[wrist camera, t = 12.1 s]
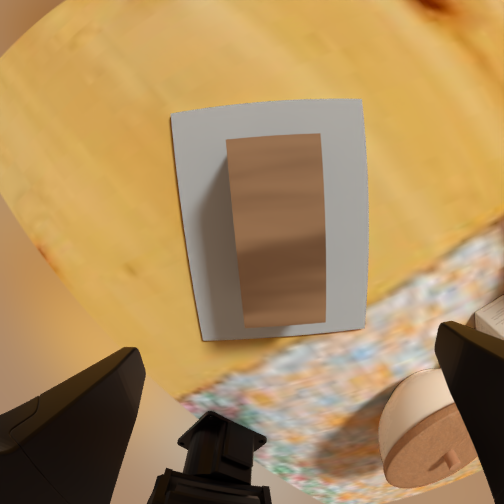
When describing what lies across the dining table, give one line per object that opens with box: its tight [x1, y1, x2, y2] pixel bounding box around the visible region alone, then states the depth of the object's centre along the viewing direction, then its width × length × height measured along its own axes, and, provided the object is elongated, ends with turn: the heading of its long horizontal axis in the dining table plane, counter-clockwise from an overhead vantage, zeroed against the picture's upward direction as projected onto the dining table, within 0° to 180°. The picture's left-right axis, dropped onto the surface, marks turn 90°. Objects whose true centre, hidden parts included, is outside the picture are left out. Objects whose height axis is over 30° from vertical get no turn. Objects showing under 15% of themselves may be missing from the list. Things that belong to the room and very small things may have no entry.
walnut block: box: [226, 133, 326, 328], centre depth 18 cm, size 4×4×10 cm
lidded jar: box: [378, 369, 478, 488], centre depth 20 cm, size 11×11×9 cm
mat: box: [171, 99, 369, 341], centre depth 21 cm, size 16×12×1 cm
